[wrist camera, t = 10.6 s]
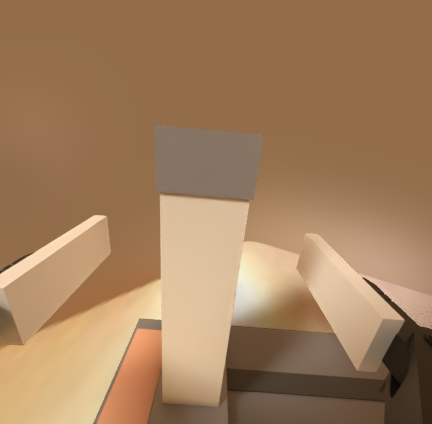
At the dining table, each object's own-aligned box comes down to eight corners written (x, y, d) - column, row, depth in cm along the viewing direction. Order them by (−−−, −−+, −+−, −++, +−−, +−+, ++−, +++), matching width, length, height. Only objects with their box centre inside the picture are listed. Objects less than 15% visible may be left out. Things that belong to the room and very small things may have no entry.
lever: (224, 335, 16) (251, 136, 10) (226, 436, 10) (284, 136, 5) (172, 331, 15) (175, 129, 10) (148, 431, 10) (131, 122, 5)
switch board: (414, 352, 18) (423, 339, 17) (560, 513, 10) (583, 499, 10) (140, 331, 17) (139, 317, 17) (79, 481, 10) (74, 465, 9)
